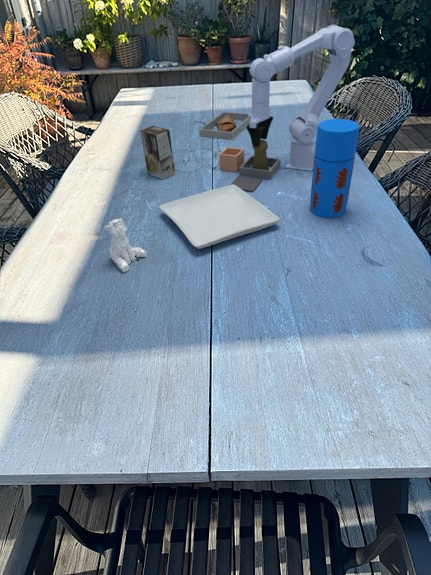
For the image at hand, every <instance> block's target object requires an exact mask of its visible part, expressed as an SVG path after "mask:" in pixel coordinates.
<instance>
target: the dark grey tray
mask: <svg viewBox="0 0 431 575" xmlns="http://www.w3.org/2000/svg"><path fill="white" fill-rule="evenodd" d="M228 114H230V115H231V117H232V118H233V120H234V121H242V122H241V123H240V124H238V126H237V125H236V128H235V129H234V130H233V131H232V132H225V131H219V130H214V129H213V128H215V127H217V125H216V123H217V122H218V121H219V120H221V119H223V118H224V117H225V116H226V115H228ZM249 114H250V113H242V112H229V111H222V112H220V113H219V114H218V115H216V116H215V117H214V118H212V119H211V120H210V121H208V122H207V123H206V124H204V125H203V126H202V127H200V128H199V129H198V135H199V137H201V138H209V139H210V138H211V139H218V140H219V139H220V140H229V141H233V140H234V139H235V138H236V137H237V136H238V135H239V134H240V133H242V132H243V131H244V130H245V129H247V125H248V124H250V121H251V117H248V115H249Z"/></svg>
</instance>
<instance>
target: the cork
mask: <svg viewBox="0 0 431 575" xmlns="http://www.w3.org/2000/svg"><path fill="white" fill-rule="evenodd" d="M268 148H269V144H268V142H267V140H266V139H260V145H259V147H253V146H252V149H253V152H254V153H253V156H254V158H253V164H252V165H251V167H252V168H253V169H261V170H269V166H268V162H267V157H268V154H267V150H268Z"/></svg>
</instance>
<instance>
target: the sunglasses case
mask: <svg viewBox="0 0 431 575" xmlns="http://www.w3.org/2000/svg"><path fill="white" fill-rule="evenodd" d="M216 127H217V131H225V132H232V131H233V130H234V129H235V128H236V127H237V125H236V122H235V120H233V118H232V117H231V115H230V114H228V115H226V116H225V117H224V118H223V119H221V120H219V121H218V122H217V123H216Z"/></svg>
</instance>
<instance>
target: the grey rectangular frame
mask: <svg viewBox="0 0 431 575" xmlns="http://www.w3.org/2000/svg"><path fill="white" fill-rule="evenodd" d="M253 158H254V155H252V154H251V155H249V157H248V158H247V159H246V160H244V163H243V164H242V165H241V166H240V167H239V171H238V175H239V176H241V177H248V178H255V179H262V180H266V181H267V180H269V181H270V180H272V178H274V176H275V174H277V172H278V171H279V169H280V168H281V167H282V166H281V164H282V161H281V160H282V159H281V158H277V157H269V156H267V162H268V167H270V168H269V169H268V170H261V169H253V168H251V167H252V166H253Z"/></svg>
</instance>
